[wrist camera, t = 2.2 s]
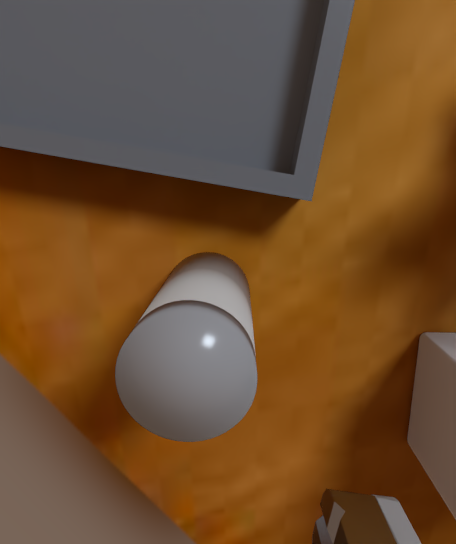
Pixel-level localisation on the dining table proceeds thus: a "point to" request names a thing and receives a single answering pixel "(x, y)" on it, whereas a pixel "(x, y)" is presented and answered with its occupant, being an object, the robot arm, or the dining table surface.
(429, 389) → the medicine bottle
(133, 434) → the dining table surface
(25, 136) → the tray
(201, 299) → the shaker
